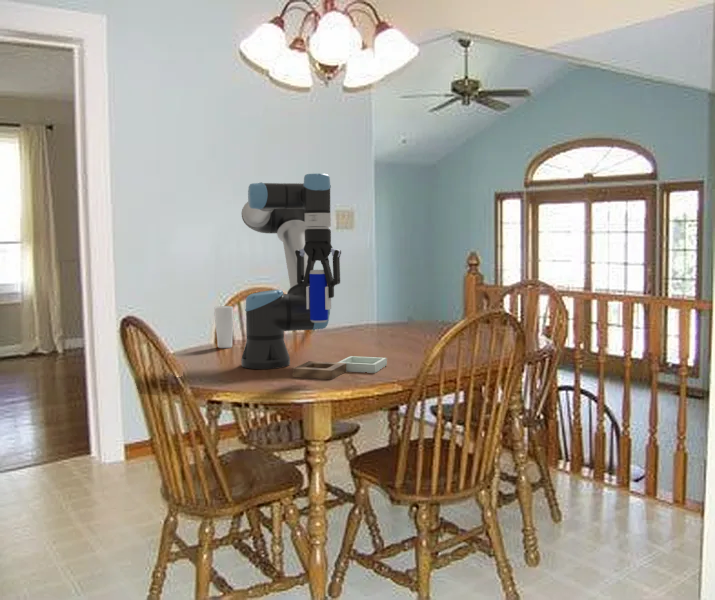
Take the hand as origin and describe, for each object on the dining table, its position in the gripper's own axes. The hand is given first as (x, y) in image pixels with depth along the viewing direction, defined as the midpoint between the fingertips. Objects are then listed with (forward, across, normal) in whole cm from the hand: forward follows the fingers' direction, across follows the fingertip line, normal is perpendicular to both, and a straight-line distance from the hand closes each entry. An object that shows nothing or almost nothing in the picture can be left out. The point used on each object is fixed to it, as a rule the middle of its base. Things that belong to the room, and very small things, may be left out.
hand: (318, 308), depth 202 cm
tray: (+19, +9, +12) cm, 24 cm away
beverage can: (+4, 0, 0) cm, 4 cm away
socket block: (+19, 0, 0) cm, 19 cm away
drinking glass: (+20, -53, +38) cm, 68 cm away
